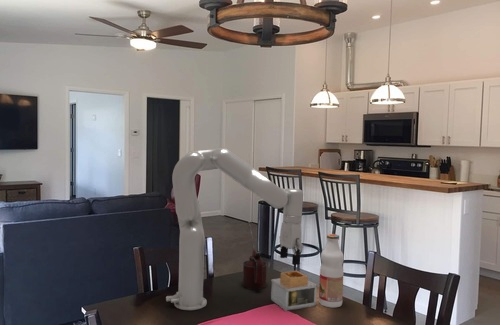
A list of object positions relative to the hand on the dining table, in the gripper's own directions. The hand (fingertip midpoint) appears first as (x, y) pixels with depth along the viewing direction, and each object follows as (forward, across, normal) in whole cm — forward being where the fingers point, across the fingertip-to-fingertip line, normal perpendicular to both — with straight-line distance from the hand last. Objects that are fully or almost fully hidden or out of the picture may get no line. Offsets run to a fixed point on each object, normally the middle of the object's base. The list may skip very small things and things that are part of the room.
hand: (289, 261), depth 162 cm
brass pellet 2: (+16, +2, +2) cm, 16 cm away
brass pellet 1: (+11, +2, +2) cm, 11 cm away
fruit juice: (+16, +8, +16) cm, 24 cm away
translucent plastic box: (+16, +2, +2) cm, 17 cm away
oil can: (+17, -26, -4) cm, 31 cm away
